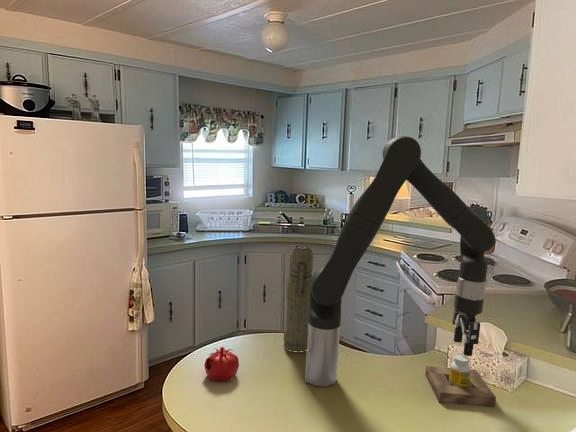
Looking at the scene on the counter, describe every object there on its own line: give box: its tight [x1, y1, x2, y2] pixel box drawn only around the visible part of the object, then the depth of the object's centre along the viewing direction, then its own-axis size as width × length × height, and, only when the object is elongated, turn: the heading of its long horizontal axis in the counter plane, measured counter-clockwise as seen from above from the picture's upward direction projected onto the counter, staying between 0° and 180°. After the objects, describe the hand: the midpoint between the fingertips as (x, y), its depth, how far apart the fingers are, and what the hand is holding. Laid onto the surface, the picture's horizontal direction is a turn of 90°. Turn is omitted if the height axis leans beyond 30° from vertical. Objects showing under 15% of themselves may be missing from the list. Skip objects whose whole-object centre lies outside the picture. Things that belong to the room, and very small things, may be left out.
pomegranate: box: [204, 346, 240, 383], centre depth 127 cm, size 10×10×9 cm
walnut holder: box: [425, 365, 497, 408], centre depth 127 cm, size 15×15×3 cm
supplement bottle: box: [449, 354, 471, 387], centre depth 126 cm, size 5×5×10 cm
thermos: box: [283, 245, 314, 352], centre depth 146 cm, size 9×12×35 cm
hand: (462, 348), depth 125 cm, fingers open, 8 cm apart
